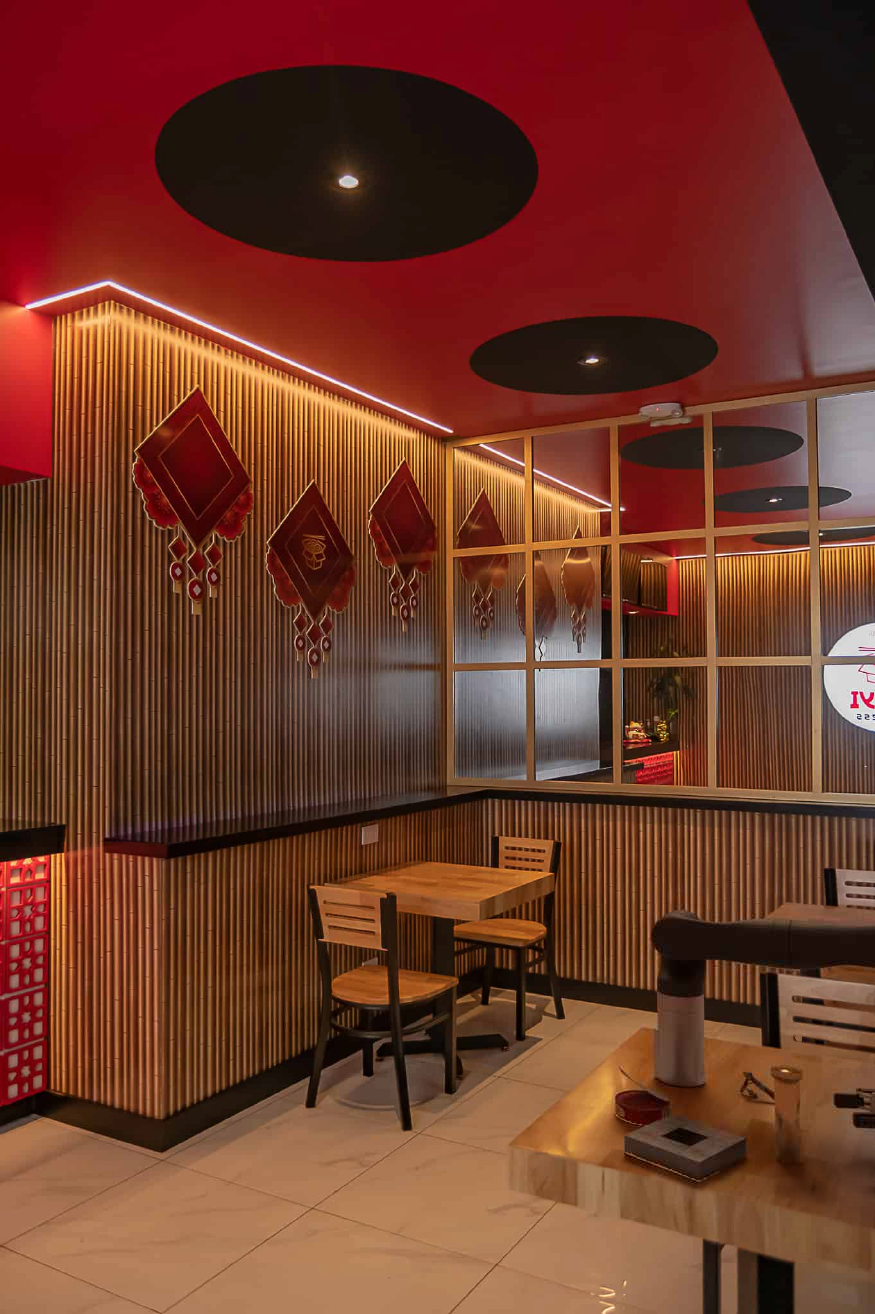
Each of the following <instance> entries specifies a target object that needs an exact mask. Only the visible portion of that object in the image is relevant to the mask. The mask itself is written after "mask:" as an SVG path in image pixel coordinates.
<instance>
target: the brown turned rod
mask: <svg viewBox="0 0 875 1314" xmlns="http://www.w3.org/2000/svg"><path fill="white" fill-rule="evenodd" d="M742 1074H743V1077H744V1078H745V1080H744V1082H743V1083H742V1085H741V1087H740V1090H739V1093H741V1094H742V1093H744V1091H745V1090H746V1093H748V1094H747V1095H748V1096H750V1097H752V1098H756V1099H758V1098H759V1095H758V1093H757V1092H756V1091H754V1089H750V1088H747V1086H749V1085H752V1084H754V1085H755V1087H756V1088H758V1089H759V1090H760V1091H762V1093H765V1094H766V1095H767V1096H769V1097H770V1098H771V1099H772V1100H773V1101H774V1090H771V1089H770V1088H769V1087H768V1086H767V1085H765V1084H764V1083H763V1082H762V1081H761V1080H758V1079H757V1078H756V1077H755V1076H754V1075H753V1072H752V1071H751V1072H749V1071H746V1070H745V1071H744V1070H743V1071H742Z"/></svg>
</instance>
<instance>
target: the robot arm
mask: <svg viewBox="0 0 875 1314" xmlns="http://www.w3.org/2000/svg"><path fill="white" fill-rule="evenodd" d="M650 940H651V941H650V942H651V944H652V946H653V948H654V949H655V950H656V952H657V953H659V954H660V955H661V962H660V963H661V964H660V968H659V973H658V975H657V977H656V997H657V999H656V1001H657V1002H656V1003H657V1010H656V1011H657V1027H655V1028H654V1029H653V1077H655V1078H657V1079H659V1081H661V1082H663V1083H665V1084H668V1085H672V1086H677V1087H685V1088H686V1087H687V1088H688V1087H691V1088H693V1087H699V1086H701V1085H703V1084H705V1083H706V1068H705V1067H706V1054H705V1053H706V1052H705V1051H706V1047H705V1039H706V1038H705V999H704V997H705V996H704V992H705V991H704V985H705V980H706V974H707V961H725V962H732V963H738V964H744V965H752V966H760V967H767V968H773V969H774V968H775V969H787V970H796V971H805V970H807V971H809V970H818V969H819V970H820V969H825V968H826V969H827V968H833V967H839V966H854V967H855V966H856V967H863V968H870V969H875V924H865V925H864V924H863V925H861V924H860V925H853V924H852V925H851V924H849V925H847V924H836V923H831V922H821V921H811V920H810V921H809V920H800V919H799V920H798V919H791V918H790V919H786V918H753V919H743V920H742V919H741V920H733V921H723V922H722V921H721V922H720V921H709V920H701V918H699V916H698V915H697V914H695V913H693V912H692V911H689V910H687V909H676V910H673V911H671V912H669V913H667V914H665V915H663V916H661V917H660V918H659V919H657V920H656V921H655V923H654V924H653V926H652V929H651V932H650ZM867 1099H868V1100H867ZM833 1105H834V1106H835V1107H836V1109H851V1110H852V1109H853V1110H854V1109H855V1110H858V1109H859V1110H863V1111H864V1112H863V1111H855V1112H852V1125H853V1126H854V1127H855V1128H856V1129H875V1088H869V1087H868V1088H864V1087H856V1088H855V1093H850V1092H849V1093H846V1092H845V1093H844V1092H835V1093H834V1094H833ZM865 1111H867V1112H865Z"/></svg>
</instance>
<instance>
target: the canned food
mask: <svg viewBox="0 0 875 1314" xmlns="http://www.w3.org/2000/svg"><path fill="white" fill-rule="evenodd" d="M618 1069H619V1071H620V1072H621V1073H622V1074H623V1075H624V1076H625V1077H627V1078H628V1079H629V1080H631V1081H632V1082H634V1083H635V1084H636V1085H638V1086H639V1087H640V1088H641V1089H643V1090H641V1089H640V1090H639V1089H638V1090H637V1089H633V1090H625V1091H621V1092H618V1093H617V1094H616V1095H615V1096H614V1101H615V1102H614V1104H615V1105H614V1108H615V1109H614V1111H615V1112H616V1114H617V1115H618V1116H619V1117H620V1118H623V1119H625V1120H627V1121H630V1122H632V1123H637V1124H642V1125H649V1124H651V1123H653V1122H656V1121H658V1120H660V1119H662V1118H665V1117H667V1116H669V1115H671V1100H670V1099H669V1097H666V1096H665V1095H664V1094H662V1093H659V1092H657V1091H656V1090H653V1089H651V1088H649V1087H647V1086H645V1085H643V1084H640V1083H639V1082H636V1081H635V1080H633V1078H631V1077H630V1075H628V1074H627V1073H626V1072H625V1071H624V1070H623V1069H622V1068H621V1067H620V1066H618ZM615 1112H614V1113H615Z"/></svg>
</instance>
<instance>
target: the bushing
mask: <svg viewBox="0 0 875 1314" xmlns="http://www.w3.org/2000/svg"><path fill="white" fill-rule="evenodd" d="M770 1076H771V1077H772V1078H773V1092H774V1100H773V1101H774V1137H775V1138H774V1139H775V1140H774V1141H775V1144H774V1145H775V1159H776V1160H777V1161H778V1162H780V1163H783V1164H786V1165H787V1164H788V1165H801V1163H802V1161H803V1159H802V1158H803V1152H802V1150H803V1149H802V1114H801V1113H802V1112H801V1081H802V1080H804V1071H803V1069H801V1068H799V1067H796V1066H792V1065H787V1064H776V1065H773V1066H770Z"/></svg>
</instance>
